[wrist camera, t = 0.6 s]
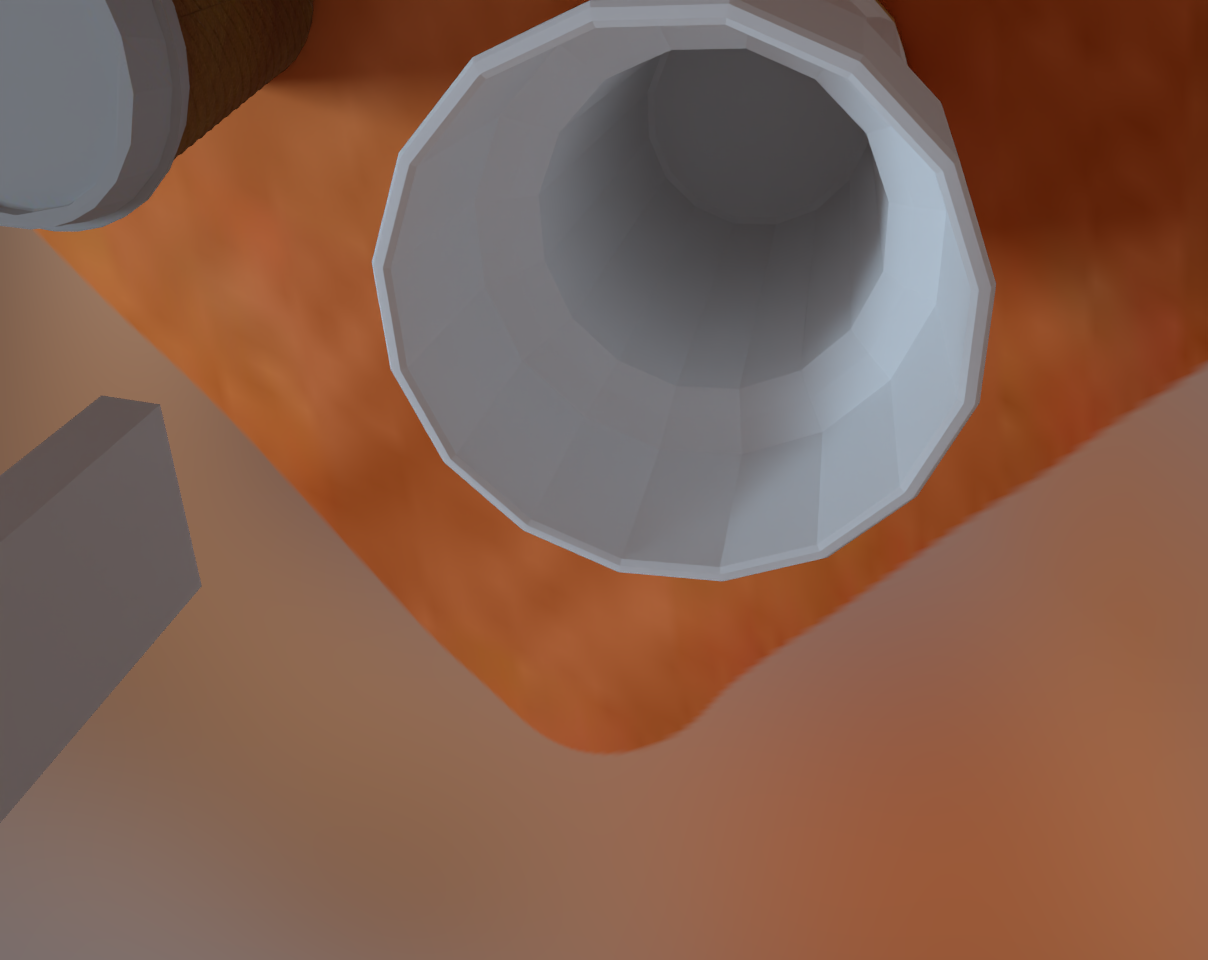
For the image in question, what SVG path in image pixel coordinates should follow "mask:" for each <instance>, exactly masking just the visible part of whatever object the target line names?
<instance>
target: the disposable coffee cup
mask: <svg viewBox="0 0 1208 960" xmlns="http://www.w3.org/2000/svg"><path fill="white" fill-rule="evenodd" d="M312 15H313V0H0V226H7V227H15V228H24V229H39V228H40V229H45V230H50V231H83V230H88V229H94V228H99V227H103V226H106V225H108V224H110V223H112V222H114V221H117V220H119V219H121V218H123V217H125V216H127V215H128V214H129V213H131V212H132V211H133V210H135V209H136V208H138V207H139V206H140V205H142V204H143V203H144V202H146V201H147V200H148V199H149V198H150V197H151V195H152V194H153V192H154V191H155V189H156V188H157V187H158V185H159V184H160V182H161V181H162V180H163V178H164V177H165V175H166V174H167V173H168V171H169V170H170V168H171V165H172V162H173V160H174V159H175V158H176V157H177V156H178V155H180V154H182V153H183V152H184V151H185V150H186V149H187V148H188V147H190V146H192V145H193V144H194V143H195V142H196V141H197V140H198V139H200V138H202V137H203V136H204V135H205V134H206V132H207V131H210V130H212V128H213V127H214V126H215V125H217V124H219V123H220V122H221V121H222V120H223V119H224V118H225V117H227V116H228V115H229V114H230V113H231V112H232V111H233V110H235V109H237V108H238V107H239V106H240V105H241V104H242V103H244V102H245V101H246V100H247V99H248V98H249V97H251V96H253V95H254V94H255V93H256V92H257V91H258V90H260V89H261V88H262V87H263V86H264V85H265V84H268V83H269V82H270V81H271V80H272V79H273V78H275V77H276V76H277V75H278V74H279V73H281V72H283V71H284V70H285V69H286V68H287V67H288V66H289V65H290V64H291V63H292V62H293V61H295V60H296V58H297V56H298V55H299V53H300V51H301V49H302V48H303V46H304V44H305V42H306V40H307V36H308V33H309V30H310V26H311V23H312Z"/></svg>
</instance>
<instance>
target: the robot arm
mask: <svg viewBox="0 0 1208 960" xmlns="http://www.w3.org/2000/svg"><path fill="white" fill-rule="evenodd" d="M200 587H201V581H200V577H199V573H198V569H197V564H196V560H195V555H194V551H193V547H192V542H191V538H190V533H189V529H188V525H187V520H186V516H185V512H184V507H183V503H182V499H181V494H180V490H179V486H178V481H177V477H176V472H175V468H174V464H173V459H172V455H171V450H170V446H169V442H168V437H167V433H166V429H165V424H164V420H163V416H162V411H161V407H160V404H153V403H146V402H140V401H134V400H127V399H121V398H114V397H108V396H101V397H99V398H98V399H97V400H95V401H94V402H93V403H92V404H90V405H89V406H88V407H86V408H85V409H84V410H83V411H82V412H80V413H79V414H78V415H76V416H75V417H74V418H73V419H71V420H70V421H69V422H68V423H66V424H65V425H64V426H62V427H61V428H60V429H59V430H57V431H56V432H55V433H54V434H52V435H51V436H50V437H48V438H47V439H46V440H45V441H44V442H42V443H41V444H40V445H39V446H37V447H36V448H35V449H33V450H32V451H31V452H30V453H28V454H27V455H26V456H24V457H23V458H22V459H21V460H19V461H18V462H17V463H16V464H14V465H13V466H12V467H11V468H9V469H8V470H7V471H5V472H4V473H3V474H2V475H1V476H0V822H1V821H2V820H3V819H4V818H5V817H6V816H7V814H8V813H9V812H10V811H11V810H12V808H13V807H14V806H15V805H16V804H17V803H18V801H19V800H20V799H21V798H22V797H23V796H24V794H25V793H26V792H27V791H28V790H29V788H30V787H31V786H32V785H33V784H34V782H35V781H36V780H37V779H38V778H39V777H40V775H41V774H42V773H43V772H44V771H45V770H46V768H47V767H48V766H49V765H50V764H51V763H52V761H53V760H54V759H55V758H56V757H57V755H58V754H59V753H60V752H61V751H62V750H63V748H64V747H65V746H66V745H67V744H68V743H69V741H70V740H71V739H72V738H73V737H74V736H75V734H76V733H77V732H78V731H79V730H80V729H81V727H82V726H83V725H84V724H85V723H86V721H87V720H88V719H89V718H90V717H91V716H92V714H93V713H94V712H95V711H96V710H97V708H98V707H99V706H100V705H101V704H102V703H103V701H104V700H105V699H106V698H107V697H108V695H109V694H110V693H111V692H112V691H113V690H114V688H115V687H116V686H117V685H118V684H119V683H120V681H121V680H122V679H123V678H124V677H125V675H126V674H127V673H128V672H129V671H130V670H131V669H132V667H133V666H134V665H135V664H136V663H137V661H138V660H139V659H140V658H141V657H142V656H143V654H144V653H145V652H146V651H147V650H148V649H149V647H150V646H151V645H152V644H153V643H154V641H155V640H156V639H157V638H158V637H159V636H160V634H161V633H162V632H163V631H164V630H165V629H166V627H167V626H168V625H169V624H170V623H171V621H172V620H173V619H174V618H175V617H176V616H177V614H178V613H179V612H180V611H181V610H182V608H183V607H184V606H185V605H186V604H187V603H188V602H189V600H190V599H191V598H192V597H193V595H194V594H195V593H196V592H197V591H198V590H199V588H200Z"/></svg>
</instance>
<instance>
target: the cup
mask: <svg viewBox="0 0 1208 960" xmlns="http://www.w3.org/2000/svg"><path fill="white" fill-rule="evenodd" d="M372 266H373V272H374V277H375V283H376V289H377V294H378V300H379V306H380V311H381V317H382V323H383V328H384V334H385V340H386V345H387V351H388V356H389V362H390V368H391V370H392V372H393V374H394V376H395V377H396V379H397V381H398V383H399V384H400V386H401V388H402V390H403V391H404V393H405V395H406V397H407V398H408V400H409V402H410V404H411V405H412V407H413V409H414V411H415V412H416V414H417V416H418V418H419V419H420V421H421V423H422V425H423V426H424V428H425V430H426V432H427V433H428V435H429V437H430V439H431V440H432V442H433V444H434V446H435V447H436V449H437V451H438V453H439V454H440V456H441V458H442V460H443V461H444V463H446V464H447V465H448V466H449V467H450V468H451V469H453V470H454V471H455V472H456V473H457V474H458V475H460V476H461V477H462V478H463V479H464V480H465V481H467V482H468V483H469V484H470V485H471V486H472V487H474V488H475V489H476V490H477V491H478V492H479V493H480V494H482V495H483V496H484V497H485V498H486V499H487V500H489V501H490V502H491V503H492V504H493V505H494V506H496V507H497V508H498V509H499V510H500V511H501V512H503V513H504V514H505V515H506V516H507V517H508V518H510V519H511V520H512V521H513V522H514V523H515V524H517V525H518V526H519V527H520V528H521V529H522V530H524V531H526V532H528V533H531V534H533V535H535V536H537V537H540V538H542V539H544V540H547V541H549V542H551V543H553V544H556V545H558V546H560V547H563V548H565V549H567V550H569V551H572V552H574V553H576V554H579V555H581V556H583V557H585V558H588V559H590V560H592V561H595V562H597V563H599V564H601V565H604V566H606V567H608V568H611V569H613V570H615V571H617V572H624V573H635V574H646V575H658V576H669V577H680V578H691V579H703V580H714V581H726V580H731V579H735V578H739V577H744V576H748V575H753V574H757V573H761V572H766V571H770V570H774V569H779V568H783V567H788V566H792V565H796V564H801V563H805V562H809V561H814V560H818V559H822V558H827V557H829V556H830V555H832V554H833V553H835V552H836V551H838V550H839V549H840V548H842V547H843V546H845V545H846V544H848V543H849V542H851V541H852V540H854V539H855V538H857V537H858V536H860V535H861V534H862V533H864V532H865V531H867V530H868V529H870V528H871V527H873V526H874V525H876V524H877V523H879V522H880V521H881V520H883V519H884V518H886V517H887V516H889V515H890V514H892V513H893V512H895V511H896V510H898V509H899V508H901V507H902V506H903V505H905V504H906V503H908V502H909V501H911V500H912V499H914V498H915V497H917V495H918V494H919V492H920V491H921V489H922V488H923V486H924V485H925V483H926V482H927V480H928V479H929V477H930V476H931V474H932V473H933V471H934V470H935V468H936V467H937V465H938V464H939V462H940V461H941V459H942V458H943V456H944V455H945V453H946V452H947V450H948V449H949V447H950V446H951V445H952V443H953V442H954V440H955V439H956V437H957V436H958V434H959V433H960V431H961V430H962V428H963V427H964V425H965V424H966V422H967V421H968V419H969V418H970V416H971V415H972V413H973V412H974V410H975V409H976V407H977V406H978V404H979V402H980V395H981V388H982V381H983V374H984V367H985V359H986V352H987V345H988V338H989V331H990V324H991V317H992V310H993V303H994V296H995V288H996V282H995V278H994V275H993V272H992V268H991V265H990V262H989V258H988V255H987V251H986V248H985V245H984V241H983V238H982V234H981V231H980V228H979V224H978V221H977V218H976V214H975V211H974V207H973V204H972V201H971V197H970V194H969V191H968V187H967V184H966V180H965V177H964V174H963V170H962V167H961V163H960V160H959V157H958V154H957V151H956V147H955V144H954V141H953V138H952V135H951V132H950V129H949V126H948V123H947V119H946V116H945V113H944V110H943V107H942V104H941V102H940V101H939V99H938V98H937V97H936V96H935V95H934V94H933V93H932V92H931V91H930V90H929V89H928V88H927V86H926V85H925V84H924V83H923V82H922V81H921V80H920V79H919V78H918V77H917V76H916V74H915V73H914V72H913V71H912V70H911V69H910V68H909V67H908V64H907V60H906V56H905V52H904V48H903V45H902V42H901V39H900V36H899V33H898V30H897V27H896V24H895V21H894V18H893V17H892V16H891V15H890V14H889V13H888V11H887V10H886V9H885V8H884V7H883V6H882V4H881V3H880V2H879V1H878V0H589V1H587V2H585V3H583V4H581V5H579V6H577V7H575V8H573V9H571V10H568V11H566V12H564V13H562V14H560V15H558V16H556V17H554V18H552V19H550V20H547V21H545V22H543V23H541V24H539V25H537V26H535V27H533V28H531V29H529V30H527V31H525V32H523V33H521V34H519V35H517V36H515V37H513V38H511V39H509V40H507V41H505V42H503V43H501V44H499V45H497V46H495V47H493V48H491V49H488V50H486V51H484V52H482V53H480V54H478V55H476V56H474V57H472V59H471V60H470V61H469V62H468V64H467V65H466V66H465V68H464V69H463V70H462V72H461V73H460V74H459V75H458V77H457V78H456V79H455V81H454V82H453V83H452V84H451V86H450V87H449V88H448V90H447V91H446V92H445V94H444V95H443V96H442V97H441V99H440V100H439V101H438V103H437V104H436V105H435V107H434V108H433V109H432V110H431V112H430V113H429V114H428V116H427V117H426V118H425V120H424V121H423V122H422V123H421V125H420V126H419V127H418V129H417V130H416V131H415V132H414V134H413V135H412V136H411V138H410V139H409V140H408V142H407V143H406V144H405V145H404V147H403V148H402V149H401V151H400V152H399V154H398V158H397V162H396V166H395V170H394V174H393V178H392V182H391V186H390V190H389V195H388V199H387V203H386V207H385V211H384V215H383V219H382V223H381V227H380V231H379V235H378V239H377V243H376V247H375V251H374V256H373V260H372Z"/></svg>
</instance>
